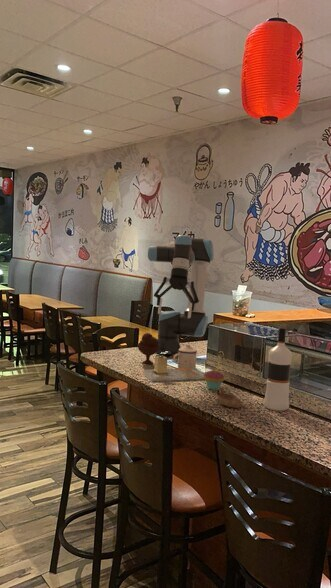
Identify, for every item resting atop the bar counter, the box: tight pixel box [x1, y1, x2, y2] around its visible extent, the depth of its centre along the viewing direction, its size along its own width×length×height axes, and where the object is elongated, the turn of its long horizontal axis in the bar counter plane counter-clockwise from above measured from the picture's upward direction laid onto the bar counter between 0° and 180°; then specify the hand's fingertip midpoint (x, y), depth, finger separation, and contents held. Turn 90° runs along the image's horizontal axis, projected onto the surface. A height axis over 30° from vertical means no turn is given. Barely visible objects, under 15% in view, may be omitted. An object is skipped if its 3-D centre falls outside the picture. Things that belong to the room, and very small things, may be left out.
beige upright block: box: [153, 355, 169, 375], centre depth 206 cm, size 4×4×9 cm
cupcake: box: [203, 359, 225, 390], centre depth 194 cm, size 9×8×12 cm
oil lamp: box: [215, 387, 243, 409], centre depth 173 cm, size 13×8×5 cm, turn 30°
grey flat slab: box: [142, 367, 205, 382], centre depth 208 cm, size 12×25×2 cm, turn 110°
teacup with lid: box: [172, 343, 198, 369], centre depth 225 cm, size 12×9×12 cm
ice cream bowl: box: [137, 332, 160, 366], centre depth 230 cm, size 11×11×15 cm
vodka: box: [263, 327, 293, 412], centre depth 172 cm, size 9×9×30 cm
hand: (174, 315), depth 205 cm, fingers open, 13 cm apart
